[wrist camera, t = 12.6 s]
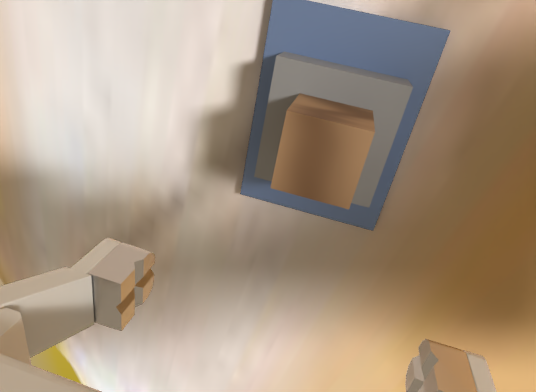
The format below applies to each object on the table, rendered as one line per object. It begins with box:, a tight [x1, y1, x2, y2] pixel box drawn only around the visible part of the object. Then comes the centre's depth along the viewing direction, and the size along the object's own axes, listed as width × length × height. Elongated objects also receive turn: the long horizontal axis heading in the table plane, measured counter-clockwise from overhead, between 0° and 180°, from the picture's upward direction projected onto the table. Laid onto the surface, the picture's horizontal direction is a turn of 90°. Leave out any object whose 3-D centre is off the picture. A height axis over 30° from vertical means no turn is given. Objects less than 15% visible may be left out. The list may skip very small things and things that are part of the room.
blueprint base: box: [240, 0, 450, 231], centre depth 28 cm, size 12×16×4 cm
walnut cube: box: [270, 93, 375, 209], centre depth 24 cm, size 5×5×5 cm
